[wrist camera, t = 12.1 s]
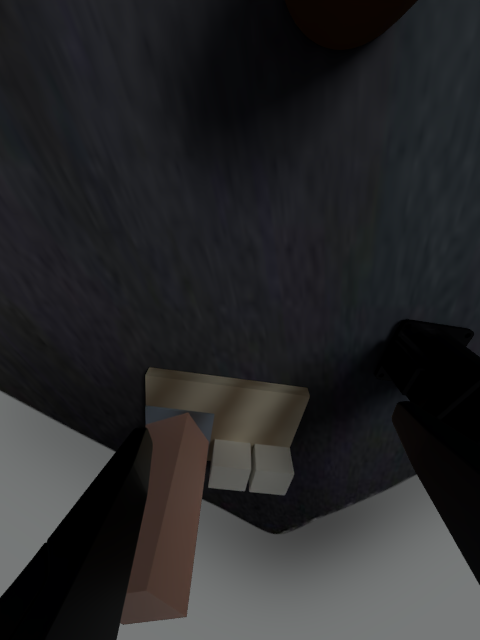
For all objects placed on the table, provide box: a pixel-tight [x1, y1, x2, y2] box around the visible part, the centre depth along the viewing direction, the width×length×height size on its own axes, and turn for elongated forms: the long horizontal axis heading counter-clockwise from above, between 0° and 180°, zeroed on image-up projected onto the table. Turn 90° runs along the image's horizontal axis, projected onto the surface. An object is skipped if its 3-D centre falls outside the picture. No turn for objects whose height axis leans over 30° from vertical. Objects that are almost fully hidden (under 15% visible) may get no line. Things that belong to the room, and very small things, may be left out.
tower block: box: [120, 413, 209, 625], centre depth 22 cm, size 5×5×13 cm
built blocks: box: [208, 439, 294, 495], centre depth 29 cm, size 8×4×3 cm, turn 81°
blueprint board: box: [145, 367, 310, 461], centre depth 28 cm, size 16×12×1 cm
